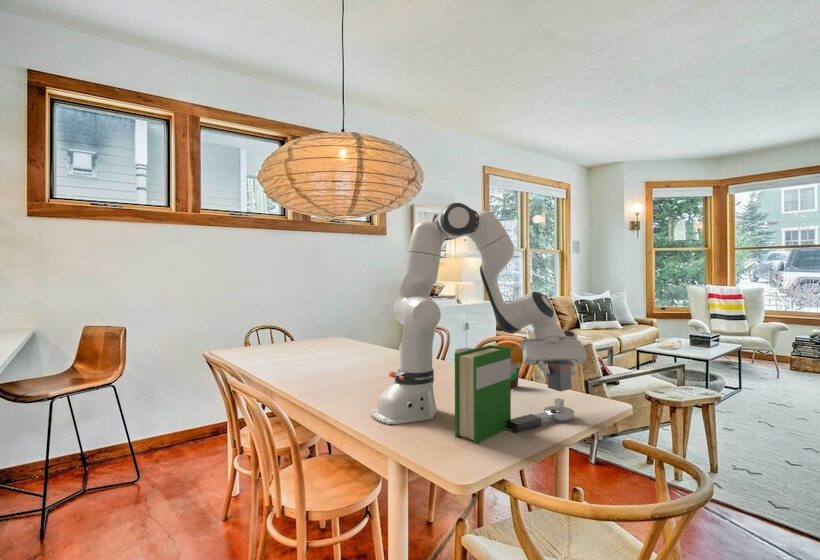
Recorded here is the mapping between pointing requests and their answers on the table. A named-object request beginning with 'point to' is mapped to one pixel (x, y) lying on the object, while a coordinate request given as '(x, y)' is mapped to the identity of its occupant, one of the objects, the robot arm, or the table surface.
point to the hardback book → (482, 392)
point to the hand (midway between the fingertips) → (560, 374)
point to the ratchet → (542, 418)
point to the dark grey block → (559, 376)
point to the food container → (515, 374)
